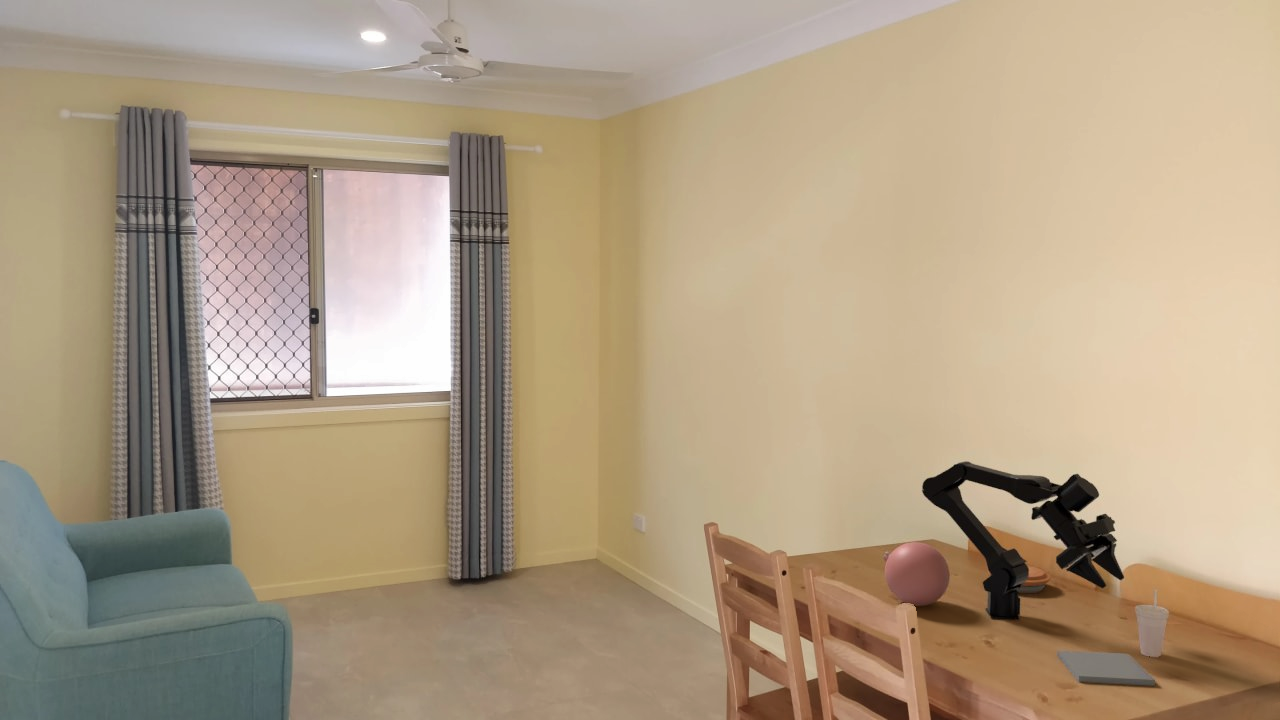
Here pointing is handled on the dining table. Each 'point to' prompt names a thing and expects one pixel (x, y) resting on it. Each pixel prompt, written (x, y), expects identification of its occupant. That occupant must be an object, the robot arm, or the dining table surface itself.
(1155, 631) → the smoothie
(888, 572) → the balloon
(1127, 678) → the slate trivet
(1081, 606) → the dining table surface
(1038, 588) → the pie
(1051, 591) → the dining table surface
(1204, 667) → the dining table surface
